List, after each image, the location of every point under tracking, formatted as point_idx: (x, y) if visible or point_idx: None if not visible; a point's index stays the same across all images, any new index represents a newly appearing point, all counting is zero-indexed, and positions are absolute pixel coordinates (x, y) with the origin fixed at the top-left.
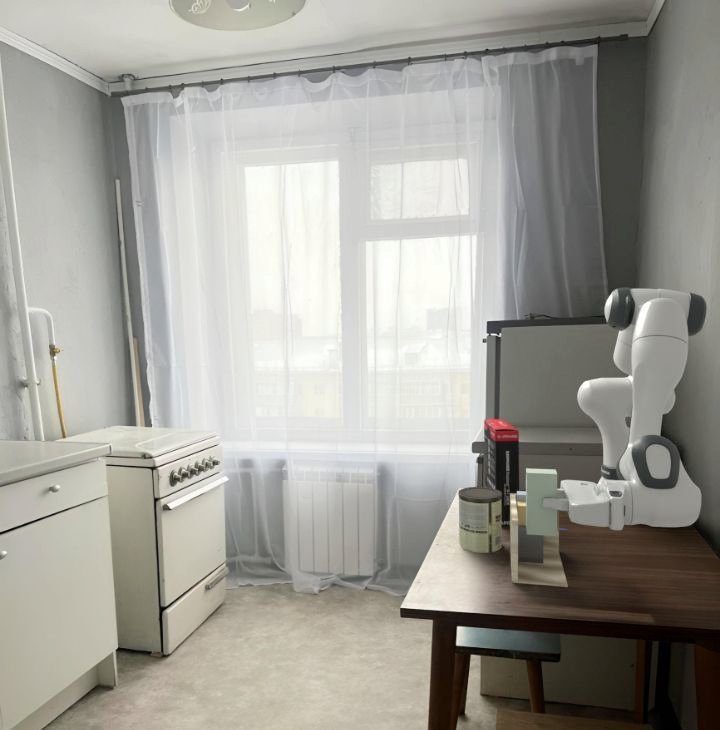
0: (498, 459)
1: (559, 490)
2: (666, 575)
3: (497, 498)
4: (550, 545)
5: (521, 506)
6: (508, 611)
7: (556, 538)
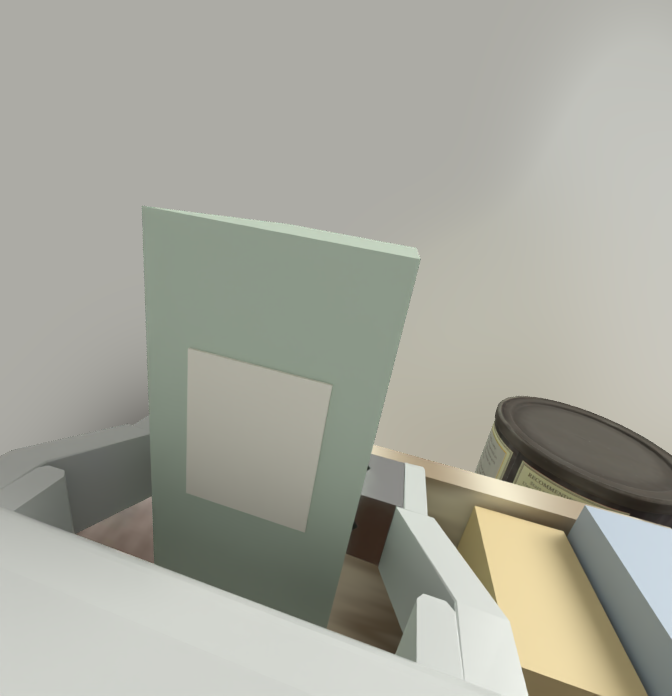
0: None
1: (415, 615)
2: None
3: (558, 471)
4: None
5: (476, 523)
6: (99, 531)
7: None
